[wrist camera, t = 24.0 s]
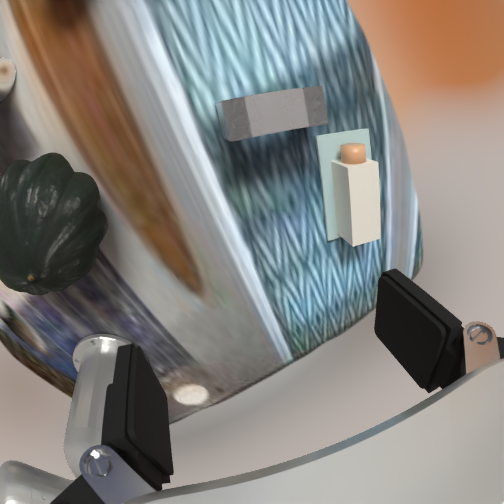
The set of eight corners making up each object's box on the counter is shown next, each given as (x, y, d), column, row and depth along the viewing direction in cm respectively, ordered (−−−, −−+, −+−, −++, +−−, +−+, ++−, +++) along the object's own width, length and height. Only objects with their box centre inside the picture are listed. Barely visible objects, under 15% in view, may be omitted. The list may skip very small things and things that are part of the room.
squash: (-35, 175, 21) (-47, 303, 16) (63, 103, 22) (66, 233, 17) (30, 226, 34) (42, 329, 29) (117, 179, 36) (143, 286, 31)
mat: (372, 226, 42) (374, 227, 41) (326, 239, 41) (328, 240, 40) (366, 128, 35) (368, 129, 35) (314, 136, 34) (316, 136, 34)
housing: (306, 120, 33) (328, 123, 28) (222, 137, 32) (230, 142, 27) (300, 88, 31) (321, 85, 26) (215, 103, 30) (221, 101, 25)
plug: (363, 226, 41) (380, 238, 37) (337, 233, 40) (352, 246, 37) (358, 140, 35) (376, 145, 31) (329, 145, 35) (345, 150, 31)
